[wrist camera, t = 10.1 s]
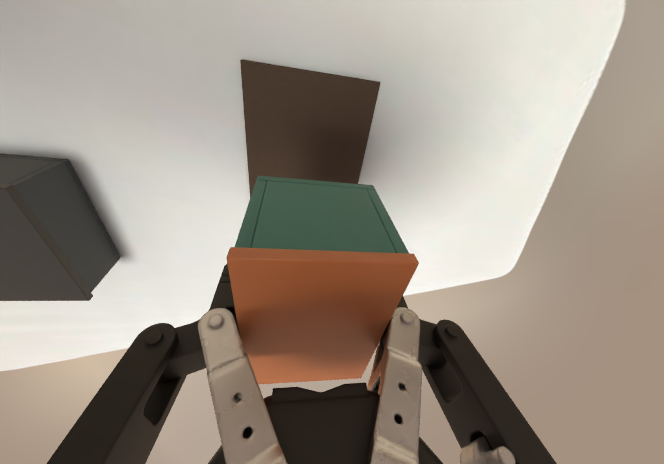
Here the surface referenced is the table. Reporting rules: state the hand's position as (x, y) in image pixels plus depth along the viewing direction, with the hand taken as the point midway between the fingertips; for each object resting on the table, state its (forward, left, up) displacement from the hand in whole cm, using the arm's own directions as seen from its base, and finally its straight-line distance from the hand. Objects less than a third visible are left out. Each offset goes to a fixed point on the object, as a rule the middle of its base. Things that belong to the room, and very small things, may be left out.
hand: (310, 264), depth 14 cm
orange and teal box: (0, 0, -2) cm, 2 cm away
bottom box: (+10, -30, -17) cm, 36 cm away
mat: (0, 0, -17) cm, 17 cm away
